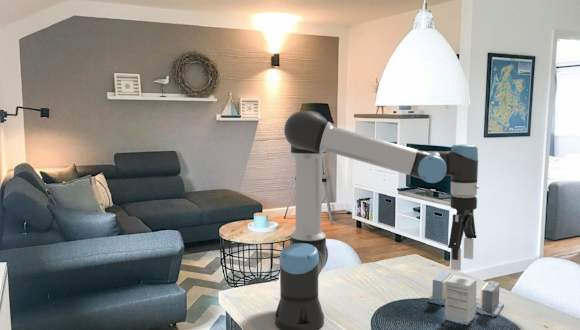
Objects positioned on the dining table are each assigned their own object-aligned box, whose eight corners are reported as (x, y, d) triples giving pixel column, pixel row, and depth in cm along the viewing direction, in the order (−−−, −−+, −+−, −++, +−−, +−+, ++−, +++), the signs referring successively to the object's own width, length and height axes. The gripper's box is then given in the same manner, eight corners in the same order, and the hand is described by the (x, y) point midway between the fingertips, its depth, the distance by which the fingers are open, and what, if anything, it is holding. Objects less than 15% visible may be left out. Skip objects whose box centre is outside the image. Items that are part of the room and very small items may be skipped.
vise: (496, 317, 151) (497, 293, 150) (427, 302, 163) (427, 279, 162) (503, 306, 160) (504, 282, 159) (437, 292, 172) (438, 270, 171)
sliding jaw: (442, 301, 161) (443, 281, 160) (432, 299, 163) (432, 279, 162) (452, 292, 169) (452, 273, 168) (441, 290, 171) (442, 271, 170)
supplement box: (452, 312, 155) (453, 274, 154) (476, 318, 150) (477, 279, 149) (443, 320, 149) (444, 280, 148) (467, 326, 145) (469, 285, 143)
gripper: (464, 203, 133) (463, 277, 136) (486, 191, 154) (485, 255, 156) (438, 200, 138) (436, 272, 140) (462, 189, 158) (461, 252, 160)
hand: (462, 264), depth 148 cm, fingers open, 13 cm apart
